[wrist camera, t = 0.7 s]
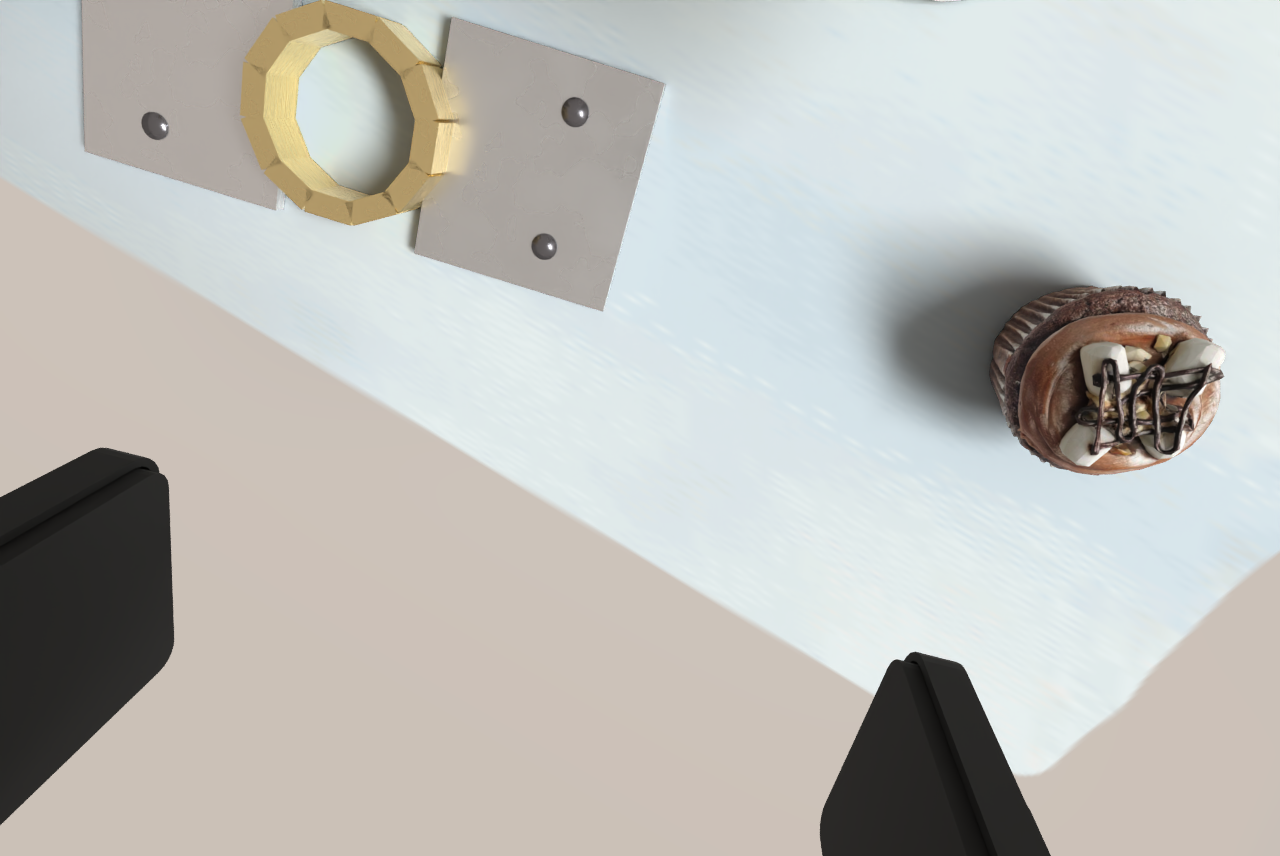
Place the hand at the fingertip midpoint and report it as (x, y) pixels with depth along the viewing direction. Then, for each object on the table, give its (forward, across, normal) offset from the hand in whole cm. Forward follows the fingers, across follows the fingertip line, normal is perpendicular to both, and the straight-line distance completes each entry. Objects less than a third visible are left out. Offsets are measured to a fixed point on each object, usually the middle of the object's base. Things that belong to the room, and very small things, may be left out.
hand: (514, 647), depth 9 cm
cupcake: (+34, -22, 0) cm, 40 cm away
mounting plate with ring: (+33, +18, -3) cm, 38 cm away
